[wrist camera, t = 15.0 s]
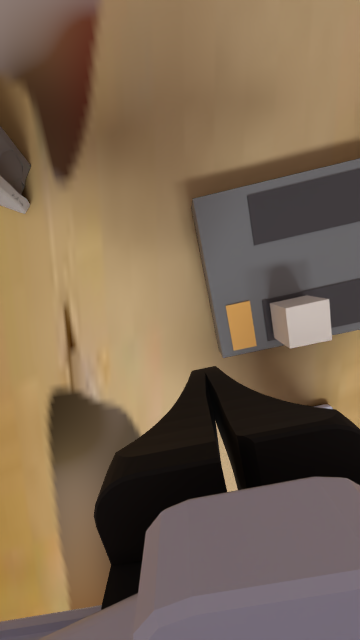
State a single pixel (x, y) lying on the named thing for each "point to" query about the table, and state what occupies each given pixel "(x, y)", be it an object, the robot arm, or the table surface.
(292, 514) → the robot arm
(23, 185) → the electrical switch
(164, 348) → the table surface
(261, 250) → the switch board
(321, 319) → the tab
